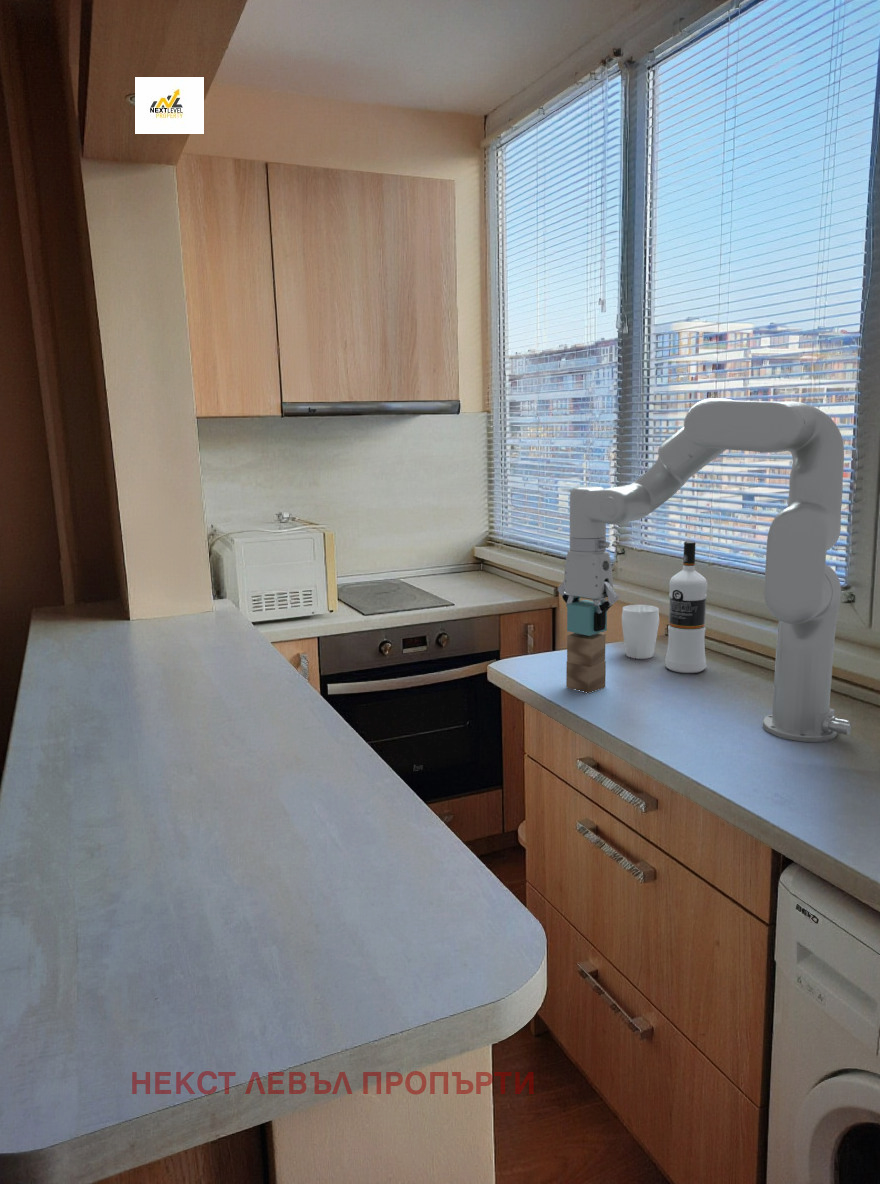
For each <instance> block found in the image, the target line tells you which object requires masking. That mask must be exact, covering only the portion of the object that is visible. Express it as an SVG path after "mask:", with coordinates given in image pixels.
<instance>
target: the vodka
mask: <svg viewBox="0 0 880 1184" xmlns="http://www.w3.org/2000/svg"><path fill="white" fill-rule="evenodd" d="M696 545H697V543H696V541H692V540H688V541H687V540H686V541H684V542H683V558H682V559H683V563H682V565H683V566H682V570H680V571H678V572H677V573H676V574H674V575H673V576H672V577H670V580H669V585H668V588H669V593H668V595H669V611H668V612H669V614H668V615H669V616H668V625H667V628H668V640H667V648H666V654H665V657H664V664H665V665H664V666H666V667H665V668H667V669H669V670H670V671H672V672H675V673H680V674H697V673H701V672H702V671H704V670H705V669H706V667H707V657H706V648H705V644H706V643H705V635H706V629H707V628H706V607H707V605H706V604H707V597H708V594H707V591H708V581H707V579H706V577H704V576H703V575H702V574H701V573H699V572H698V571H696V547H697V546H696Z"/></svg>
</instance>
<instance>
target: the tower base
mask: <svg viewBox="0 0 880 1184" xmlns="http://www.w3.org/2000/svg"><path fill="white" fill-rule="evenodd" d="M606 663H607V661H606V660H605V661H603V662H601V663H599V664H597V665H594V666H592V667H589V666H584V665H578V664H573V663H568V662H567V661H566V667H565V668H566V672H565V673H566V674H565V675H566V682H565V684H566V685H565V688H566V687H568V688H567V689H569V688H571V689H570V690H573V689H576V690H580V691H584V692H587V693H589V692H592V691H594V692H596V691H595V690H597V691H599V690H598V689H600V690H602V689H605V688H606V672H607V671H606V666H607V665H606ZM604 687H605V688H604ZM601 688H602V689H601ZM576 690H575V691H576ZM580 691H579V692H580ZM587 693H586V694H587ZM592 693H593V692H592ZM589 694H590V693H589Z"/></svg>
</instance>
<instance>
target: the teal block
mask: <svg viewBox="0 0 880 1184" xmlns="http://www.w3.org/2000/svg"><path fill="white" fill-rule="evenodd" d="M600 605H601V603H600ZM566 608H567V609H566V613H567V617H566V620H567V621H566V622H567V623H566V626H567V627H566V632H570V633H578V634H583V635H588V636H591V635H594V634H597V633H604V632H606V631H608V629H607V628H608V623H607V622H608V611H607V612H606V625H605V629H604V630H601V631H597V632H596V631H594V613H597V612H596V609H595V606H594V602H593V600H590V599H581V600H580V601H578V602H574V603H570V604H567V607H566Z"/></svg>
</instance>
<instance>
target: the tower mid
mask: <svg viewBox="0 0 880 1184" xmlns="http://www.w3.org/2000/svg"><path fill="white" fill-rule="evenodd" d="M606 636H607V635H606V633H604V632H600V633H597V634H594V635H591V636H588V635H583V634H578V633H574V632H572V633H570V634H568V635H567V637H566V641H567V642H566V663H567V662H568V663H573V664H578V665H584V666H589V667H592V666H594V665H597V664H599V663H601V662H603V661H606V638H607V637H606Z"/></svg>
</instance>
